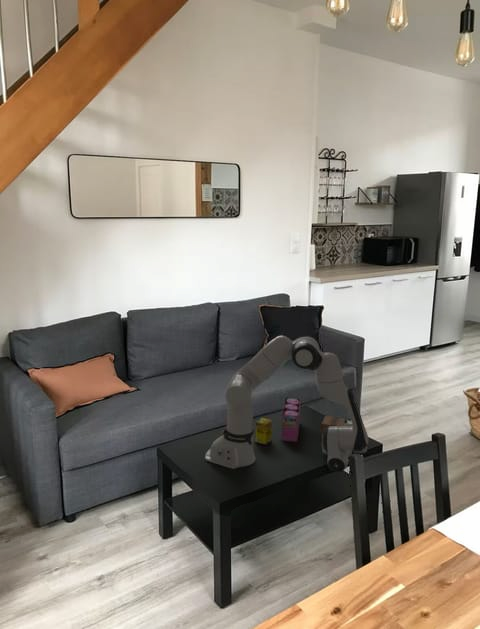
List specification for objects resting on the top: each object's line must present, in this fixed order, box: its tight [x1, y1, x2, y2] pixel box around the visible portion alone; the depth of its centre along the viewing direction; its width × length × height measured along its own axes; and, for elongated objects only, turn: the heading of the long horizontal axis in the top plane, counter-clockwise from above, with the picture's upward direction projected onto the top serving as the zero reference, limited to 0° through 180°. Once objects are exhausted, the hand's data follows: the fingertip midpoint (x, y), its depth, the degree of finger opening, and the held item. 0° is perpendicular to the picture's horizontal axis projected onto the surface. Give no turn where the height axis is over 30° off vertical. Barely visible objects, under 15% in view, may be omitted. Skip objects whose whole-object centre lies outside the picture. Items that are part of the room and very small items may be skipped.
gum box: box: [280, 397, 301, 443], centre depth 256 cm, size 24×8×14 cm, turn 171°
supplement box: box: [254, 417, 273, 446], centre depth 244 cm, size 6×6×11 cm
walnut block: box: [320, 415, 346, 440], centre depth 252 cm, size 10×10×8 cm
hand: (346, 436), depth 238 cm, fingers open, 8 cm apart
